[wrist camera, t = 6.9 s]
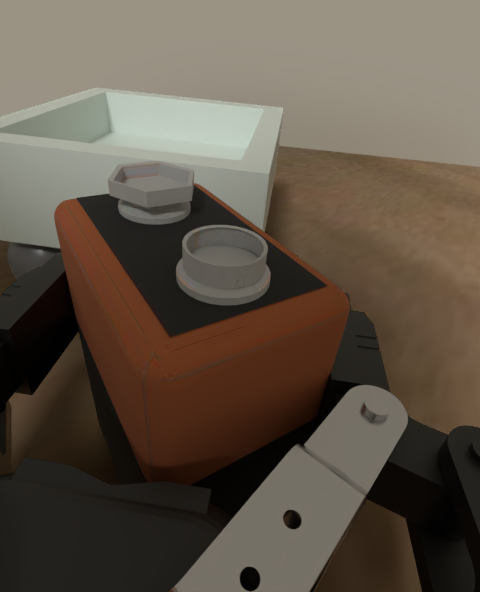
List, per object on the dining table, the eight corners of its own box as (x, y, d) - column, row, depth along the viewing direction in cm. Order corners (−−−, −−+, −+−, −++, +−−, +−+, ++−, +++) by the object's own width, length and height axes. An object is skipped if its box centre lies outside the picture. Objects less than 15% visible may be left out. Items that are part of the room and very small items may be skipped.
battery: (197, 380, 17) (201, 147, 11) (291, 522, 12) (381, 253, 7) (96, 420, 15) (37, 160, 9) (166, 606, 10) (137, 327, 5)
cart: (248, 340, 19) (269, 173, 14) (2, 304, 20) (-59, 134, 15) (268, 223, 31) (283, 107, 26) (110, 203, 31) (95, 87, 26)
